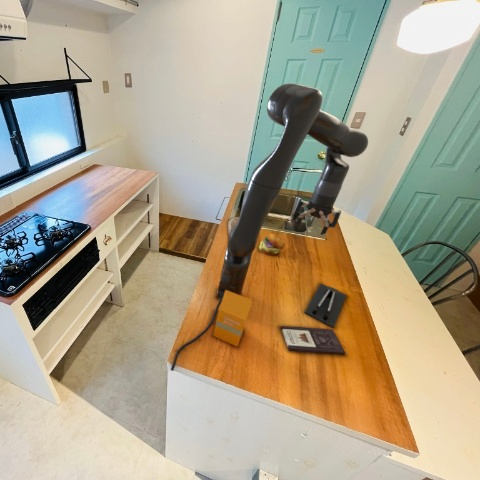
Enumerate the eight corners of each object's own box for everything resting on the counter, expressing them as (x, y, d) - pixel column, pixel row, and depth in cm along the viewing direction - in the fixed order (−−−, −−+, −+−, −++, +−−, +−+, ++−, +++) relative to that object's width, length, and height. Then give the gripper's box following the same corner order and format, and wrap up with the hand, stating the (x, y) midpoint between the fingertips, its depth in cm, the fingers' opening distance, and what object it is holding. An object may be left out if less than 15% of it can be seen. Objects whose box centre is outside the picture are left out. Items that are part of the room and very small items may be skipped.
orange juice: (237, 347, 86) (250, 308, 75) (212, 335, 90) (221, 297, 78) (243, 329, 92) (255, 291, 80) (219, 319, 95) (228, 281, 84)
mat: (333, 328, 93) (333, 327, 93) (304, 313, 98) (305, 312, 98) (346, 296, 106) (346, 295, 105) (320, 284, 111) (320, 283, 111)
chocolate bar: (345, 352, 84) (289, 348, 85) (344, 354, 84) (289, 350, 85) (332, 329, 91) (281, 325, 92) (331, 331, 92) (280, 327, 93)
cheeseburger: (255, 243, 135) (264, 228, 129) (273, 247, 136) (283, 233, 131) (260, 255, 127) (270, 239, 121) (280, 259, 128) (291, 244, 122)
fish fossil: (248, 243, 135) (248, 241, 135) (228, 241, 137) (228, 240, 137) (245, 218, 156) (245, 216, 155) (227, 217, 158) (228, 215, 157)
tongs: (323, 290, 107) (326, 285, 105) (336, 296, 105) (340, 291, 103) (312, 313, 98) (315, 307, 96) (326, 320, 95) (329, 315, 93)
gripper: (351, 194, 88) (332, 232, 97) (308, 182, 96) (294, 219, 105) (346, 201, 83) (327, 241, 93) (301, 188, 91) (288, 226, 101)
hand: (310, 229), depth 99 cm, fingers open, 8 cm apart
